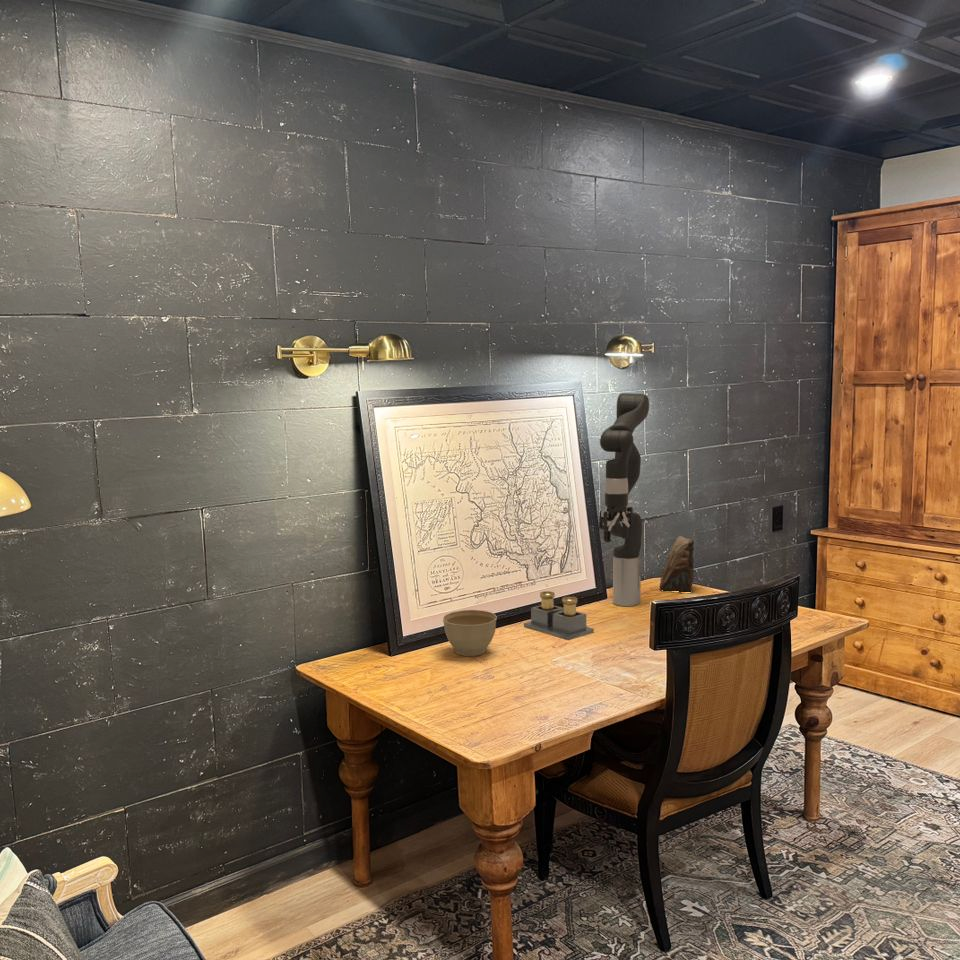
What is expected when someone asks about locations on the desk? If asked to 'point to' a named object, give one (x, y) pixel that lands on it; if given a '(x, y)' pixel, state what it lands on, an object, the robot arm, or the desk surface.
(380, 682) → the desk surface
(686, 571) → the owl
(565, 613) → the brass stub
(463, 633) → the planter bowl
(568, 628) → the grey double holder
